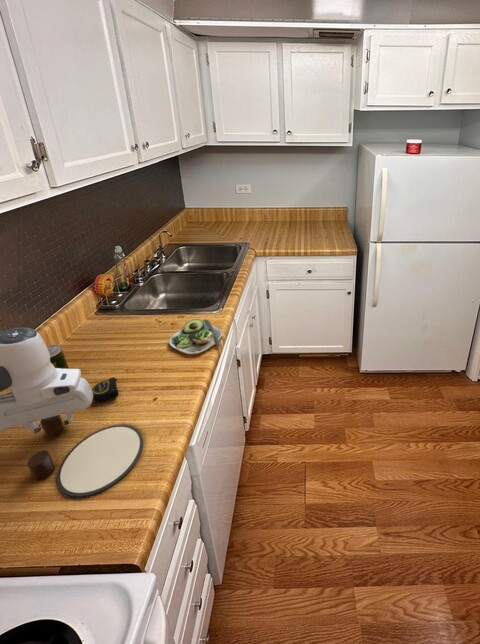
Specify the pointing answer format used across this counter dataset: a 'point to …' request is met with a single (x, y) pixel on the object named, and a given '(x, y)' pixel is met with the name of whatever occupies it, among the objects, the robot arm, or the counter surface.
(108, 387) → the tape measure
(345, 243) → the counter surface
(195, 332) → the avocado toast plate
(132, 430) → the board
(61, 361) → the green guarana soda can
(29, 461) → the eye puck
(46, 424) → the eye puck
